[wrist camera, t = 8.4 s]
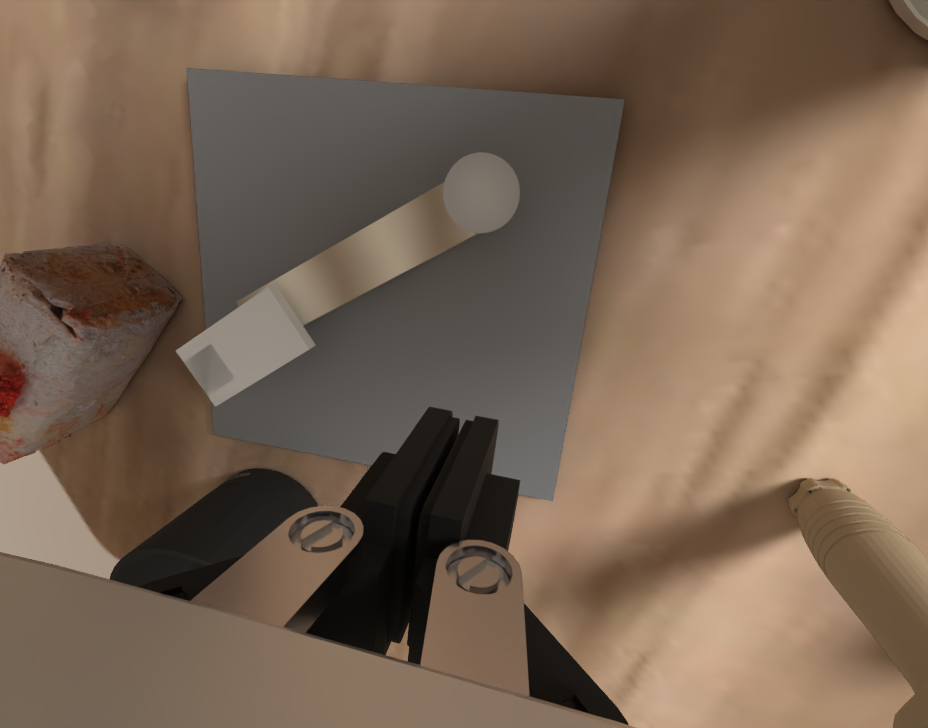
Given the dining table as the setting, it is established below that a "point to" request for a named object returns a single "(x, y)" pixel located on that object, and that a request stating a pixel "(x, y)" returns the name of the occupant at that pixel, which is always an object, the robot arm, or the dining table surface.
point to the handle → (872, 579)
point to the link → (370, 257)
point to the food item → (72, 338)
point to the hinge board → (412, 293)
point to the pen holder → (216, 527)
